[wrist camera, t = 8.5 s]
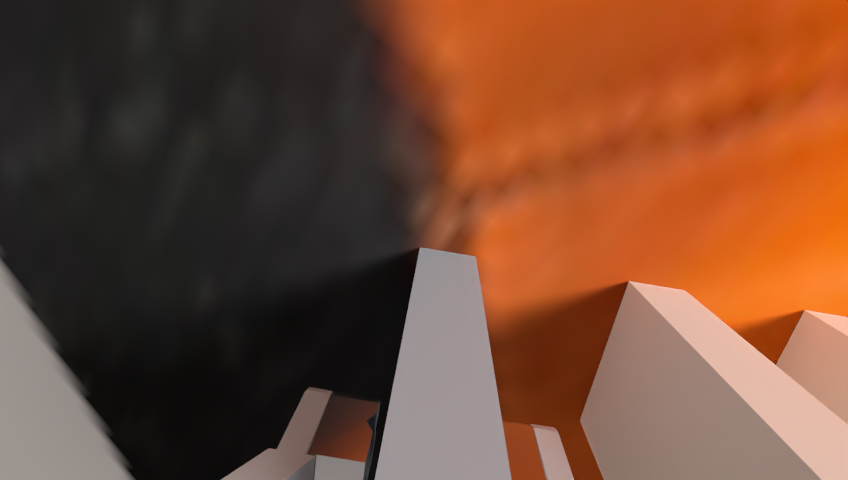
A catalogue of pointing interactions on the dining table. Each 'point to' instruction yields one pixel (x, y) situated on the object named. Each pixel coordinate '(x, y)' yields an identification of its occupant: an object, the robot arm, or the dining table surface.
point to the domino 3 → (820, 359)
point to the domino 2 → (701, 402)
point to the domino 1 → (444, 381)
